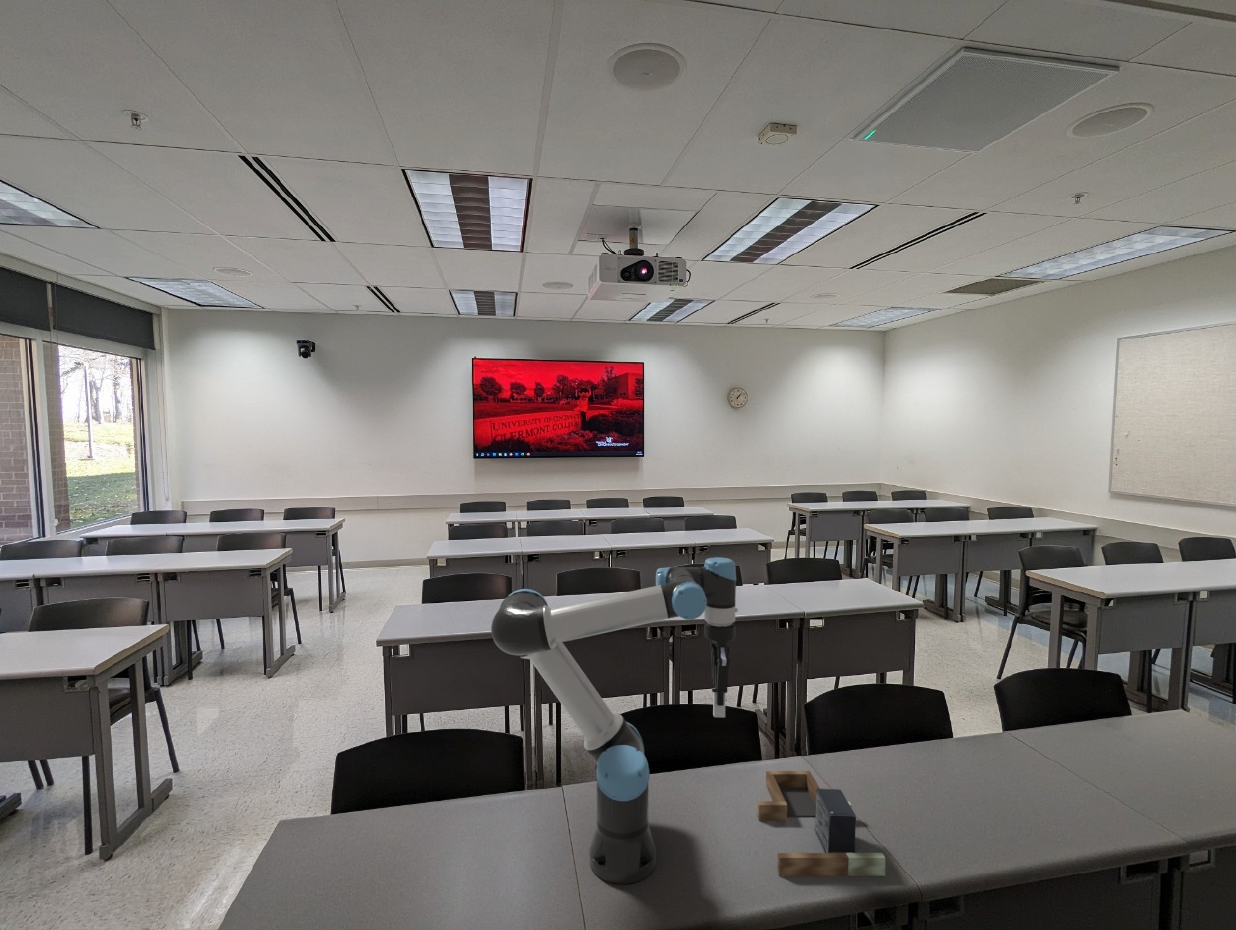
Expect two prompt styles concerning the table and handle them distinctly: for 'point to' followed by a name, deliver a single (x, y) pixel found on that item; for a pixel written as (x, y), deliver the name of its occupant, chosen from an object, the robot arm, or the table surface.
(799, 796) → the mat
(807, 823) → the table surface
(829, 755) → the table surface
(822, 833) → the small box
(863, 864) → the wooden frame pieces
